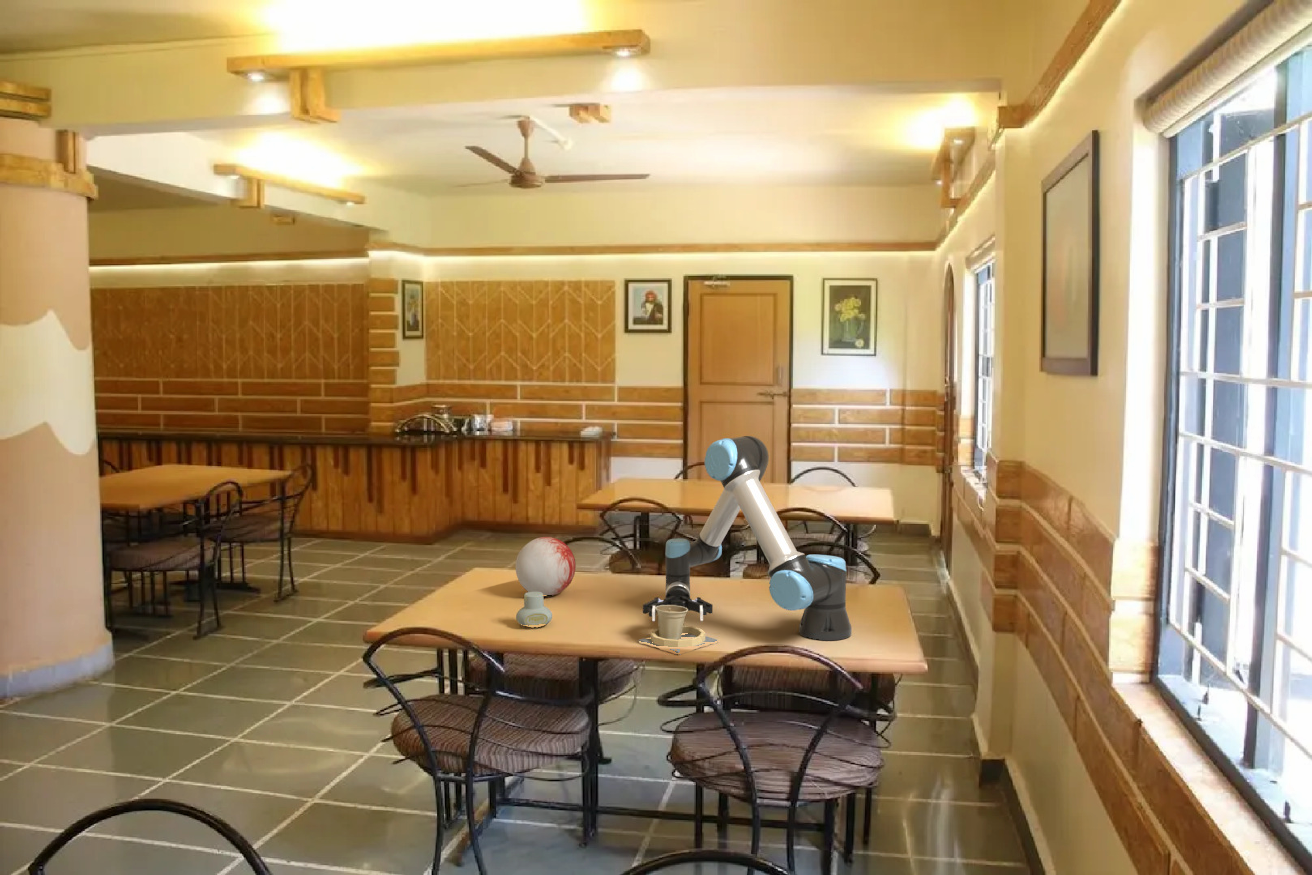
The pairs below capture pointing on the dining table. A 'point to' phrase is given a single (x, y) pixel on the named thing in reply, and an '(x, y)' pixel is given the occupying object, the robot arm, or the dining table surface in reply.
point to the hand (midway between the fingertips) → (677, 616)
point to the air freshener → (534, 610)
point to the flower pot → (670, 621)
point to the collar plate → (692, 632)
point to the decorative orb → (545, 566)
